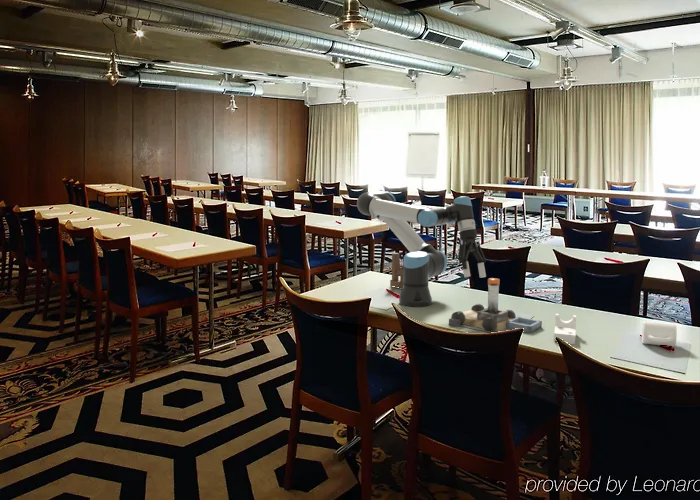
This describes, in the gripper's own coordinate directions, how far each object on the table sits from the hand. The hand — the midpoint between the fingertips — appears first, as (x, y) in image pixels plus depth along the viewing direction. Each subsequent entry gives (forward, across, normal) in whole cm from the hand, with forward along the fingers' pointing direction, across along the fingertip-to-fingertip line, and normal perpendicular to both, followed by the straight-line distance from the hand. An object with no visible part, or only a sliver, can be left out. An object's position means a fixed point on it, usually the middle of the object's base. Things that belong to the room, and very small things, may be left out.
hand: (475, 277), depth 241 cm
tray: (+25, -10, -23) cm, 35 cm away
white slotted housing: (+37, +1, -66) cm, 76 cm away
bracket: (+31, -11, -39) cm, 51 cm away
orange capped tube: (+20, -15, -13) cm, 28 cm away
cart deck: (+21, -15, -8) cm, 27 cm away
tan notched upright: (-4, +13, +52) cm, 54 cm away
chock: (+20, -25, -1) cm, 32 cm away
